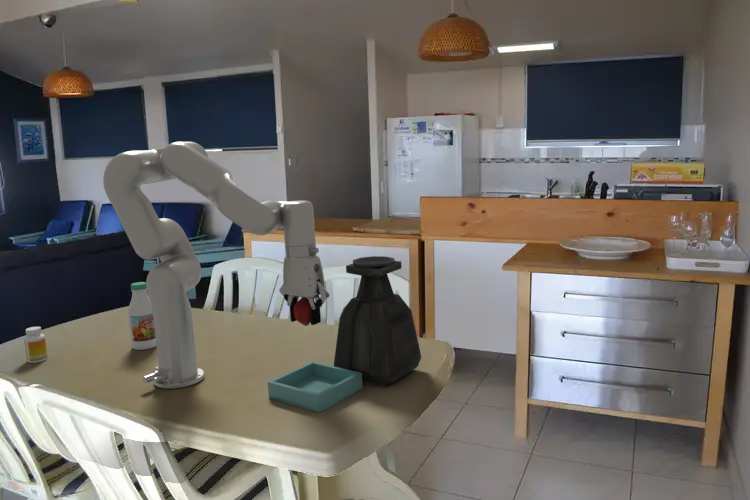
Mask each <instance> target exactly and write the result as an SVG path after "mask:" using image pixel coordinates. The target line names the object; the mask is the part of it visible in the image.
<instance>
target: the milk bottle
mask: <svg viewBox="0 0 750 500" xmlns="http://www.w3.org/2000/svg"><path fill="white" fill-rule="evenodd" d="M130 290H131V292H132V293H131V294H132V295H131V300H130V303H129V306H128V323H129V332H130V340H131V341H130V342H131V347H132V349H133V350H136V351H143V350H151V349H153V348H155V347H156V348H157V346H156V336H155V327H154V320H153V312H152V306H151V302H150V298H149V295H148V292H147V287H146V281H139V282H133V283H130Z"/></svg>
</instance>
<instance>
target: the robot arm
mask: <svg viewBox="0 0 750 500" xmlns="http://www.w3.org/2000/svg"><path fill="white" fill-rule="evenodd" d="M102 180H103V182H102V183H103V189H104V191H105V194H106V197H107V199H108V200H109V203H111V206H112V207H113V209H114V211H115V213H116V214H117V216H118V219H119V221H120V224H121V225H122V227H123V230H124V231H125V234H126V235H127V238H128V240H129V242H130V244H131V246H132V248H133V250H134V252H135V253H136V255H137V256H138V257H140V258H142V259H143V260H156V259H158V258H159V260H160V261H161V262H159V263H158V264H156V265H155V266H153V267H152V268H151V269H150V271H149V272H148V274H147V277H146V281H145V282H146V287H147V294H148V296H149V298H150V302H151V306H152V312H153V320H154V327H155V336H156V354H157V365H158V366H155V367H154V370H155V371H153V372H152V373H150V374H145V375H143V376H142V378H141V381H142V383H143V384H145V385H146V384H149V383H151V382H153V384H154V385H155V386H156V387H157V388H160V389H168V390H170V389H179V388H180V389H181V388H186V387H189V386H192V385H195V384H198V383H200V382H201V381H202V380H203V379H204V378H205V371H204V370H203V369H202V368H199V367H198V361H197V350H196V348H197V347H196V341H195V328H194V320H193V312H192V311H193V310H192V307H191V302H190V301H189V297H188V295H187V294H188V293H187V292H188V291H189V290H191V289H193V288H195V287H196V286H197V285H198V283H199V282H200V281H201V278H202V267H201V264H200V262H199V259H198V257H197V255H196V254H195V251H194V249H193V246H192V244H191V243H190V241H189V238H188V236H187V235H186V233H185V231H184V229H183V228H182V227H181V225H180V224H179V223H178V222H177V221H175V220H173V219H172V218H171V219H170V218H167V217H162V218H159V216H158V214H157V213H156V210H155V209H154V207H153V204H152V202H151V201H150V199H149V198H148V197H147V196H146V195H145V193H144V192H143V191H142V189H141V186H142V185H143V186H144V185H149V184H155V183H161V182H166V181H170V180H178V181H180V182H181V183H182V184H185V185H186V186H188V187H189V188H191V189H192V190H194V191H195V192H197V193H198V194H200V195H202V196H203V197H205V199H208V200H209V201H210V203H212V205H213V206H214V208H216V209H217V210H218V211H219V212H220V213H221V214H222V215H223V216H224V217H225V218H227V219H228V220H230V221H231V222H232V223H234V224H236V226H239V227H240V228H241V229H243V230H245V231H247V232H249V233H250V234H253V235H256V236H265V235H268V234H270V233H273V232H274V231H277V230H281V229H283V236H284V237H283V238H284V240H283V241H284V249H285V250H284V251H285V256H284V259H283V269H282V270H283V271H282V276H283V277H282V281H283V284H282V285H281V287H280V288H278V289H279V293H280V294H281V295H282V297H283V299H284V300H285V301H286V305H287V306H288V307H289V315H290V316H289V317H290V318H289V319H290V322H293V323H294V322H298V321H297V320H296V319H295V317H294V306H295V304H296V303H297V302H298V301H299V300H300V298H302V297H304V298H308V299H309V302H310V305H311V308H312V309H310V321H311V323H310V324H311V326H315V325H318V324H320V323H321V321H322V318H321V308H322V306H323V304H324V303H325V302H326V300H327V299H328V298H329V297H330V294H329V292H328V290H326V286H325V285H326V284H325V276H324V271H323V265H322V262H321V259H320V256H319V255H317V254H318V253H319V250H320V249H319V247H317V244H316V243H317V242H316V230H315V229H316V227H315V214H314V212H315V211H314V206H313V205H314V204H313V203H312V202H311V201H309V200H305V199H304V200H290V201H283V200H271V199H270V200H269V199H268V200H265V201H262V202H259V200H256V199H255V198H254V197H252V196H250V194H249V195H248V194H247V193H245V192H244V191H243V190H242V189H240V187H238V185H237V184H235V182H234V180H233V176H232V173H231V172H230V170H228V169H227V168H225V167H223V166H222V165H220V164H219V163H217V162H215V161H214V160H212V158H210V157H209V156H208V152H207V151H206V149H205V148H204V147H203V146H202V145H201V144H199V143H197V142H194V141H175V142H171V143H169V144H167V145H166V146H165V147H162V148H161V147H160V148H155V149H147V150H129V151H124V152H120V153H118V154H117V155H115V156H113V157H112V158H111V159H110V160H109V162H108V163H107V165H106V167H105V170H104V172H103V176H102Z"/></svg>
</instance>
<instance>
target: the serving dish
mask: <svg viewBox="0 0 750 500" xmlns="http://www.w3.org/2000/svg"><path fill="white" fill-rule="evenodd" d="M362 389H363V381H362V373H360V372H356V371H352V370H347V369H343V368H339V367H335V366H334V365H330V364H325V363H322V362H316V361H310V362H308V363H305V364H304V365H302V366H299V367H297V368H295V369H293V370H291V371H289V372H287V373H286V372H285V373H284V374H282V375H280V376H278V377H276V378H273V379H271V380H269V381H267V390H268V398H269V399H272V400H275V401H279V402H281V401H282V403H285V404H289V405H291V406H292V405H293V406H295V407H299V408H301V409H302V408H303V409H306V410H309V411H313V412H315V413H318V412H319V413H322V412H323V411H325V410H326V409H329V408H330V407H332V406H334V405H336V404H338V403H339V402H341V401H343V400H344V399H346V398H348V397H350V396H352V395H353V394H356V393H357V392H359V391H361V390H362Z"/></svg>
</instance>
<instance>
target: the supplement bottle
mask: <svg viewBox="0 0 750 500" xmlns="http://www.w3.org/2000/svg"><path fill="white" fill-rule="evenodd" d="M25 334H26V336H25V337H24V338H23V339H24V340H23V342H24V348H25V355H26V357H25V358H26V360H27V361H26V362H28V363H31V364H36V363H41V362H44V361H47V359H48V358H49V357H48V348H47V343H46V337H45V334H44V333H42V327H41V326H30V327H27V328H26V329H25Z"/></svg>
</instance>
